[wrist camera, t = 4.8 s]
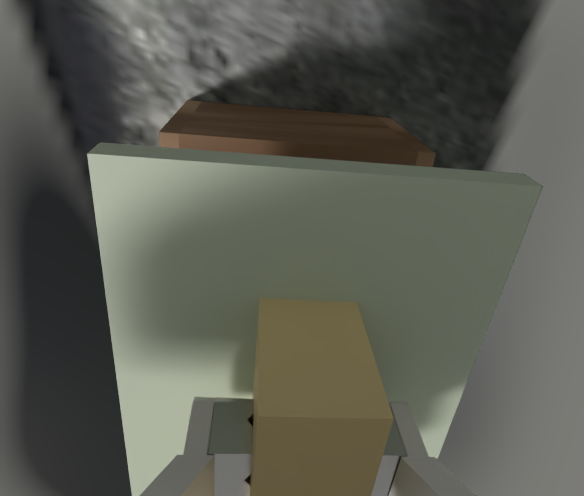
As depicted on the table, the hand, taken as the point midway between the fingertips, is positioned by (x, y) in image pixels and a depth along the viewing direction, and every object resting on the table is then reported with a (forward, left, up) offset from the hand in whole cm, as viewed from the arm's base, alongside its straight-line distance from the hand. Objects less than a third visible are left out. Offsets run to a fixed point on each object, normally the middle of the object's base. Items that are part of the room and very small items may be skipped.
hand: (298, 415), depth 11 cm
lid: (0, 0, -2) cm, 2 cm away
